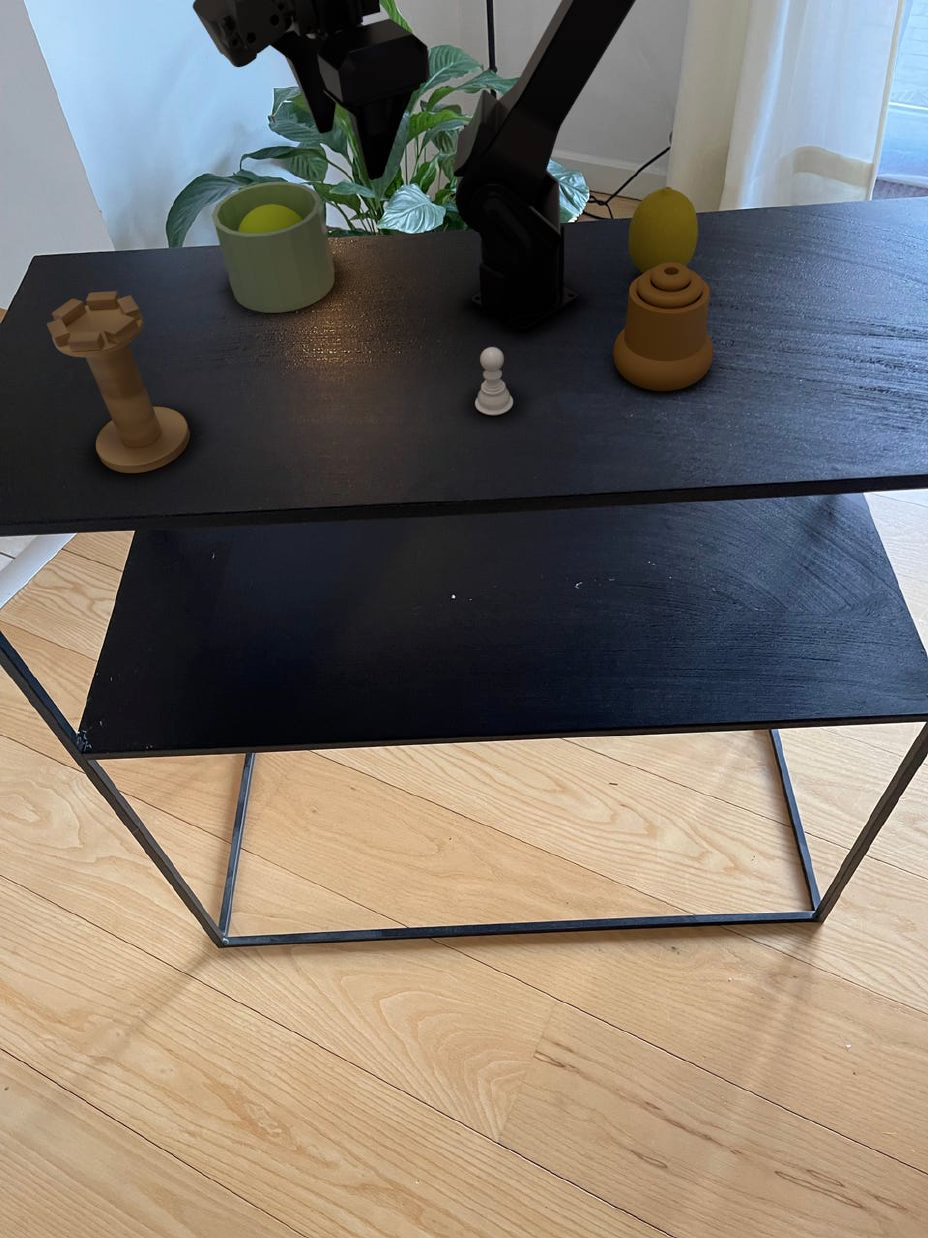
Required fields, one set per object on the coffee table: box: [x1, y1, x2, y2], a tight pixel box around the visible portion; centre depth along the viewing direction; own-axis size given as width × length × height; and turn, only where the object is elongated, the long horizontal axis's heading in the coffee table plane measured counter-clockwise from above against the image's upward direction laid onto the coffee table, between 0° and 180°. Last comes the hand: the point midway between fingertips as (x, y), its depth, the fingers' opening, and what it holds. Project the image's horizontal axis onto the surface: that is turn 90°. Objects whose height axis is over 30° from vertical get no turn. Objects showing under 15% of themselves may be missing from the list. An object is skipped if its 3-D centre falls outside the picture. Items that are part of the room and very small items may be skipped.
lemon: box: [627, 186, 699, 274], centre depth 80 cm, size 6×6×8 cm
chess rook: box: [46, 290, 191, 474], centre depth 69 cm, size 7×7×11 cm
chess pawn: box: [474, 346, 514, 416], centre depth 71 cm, size 3×3×5 cm
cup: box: [211, 181, 335, 314], centre depth 84 cm, size 9×9×7 cm
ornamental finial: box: [612, 262, 715, 392], centre depth 72 cm, size 8×8×8 cm
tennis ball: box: [238, 204, 303, 233], centre depth 83 cm, size 6×6×6 cm
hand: (349, 153), depth 73 cm, fingers open, 9 cm apart
